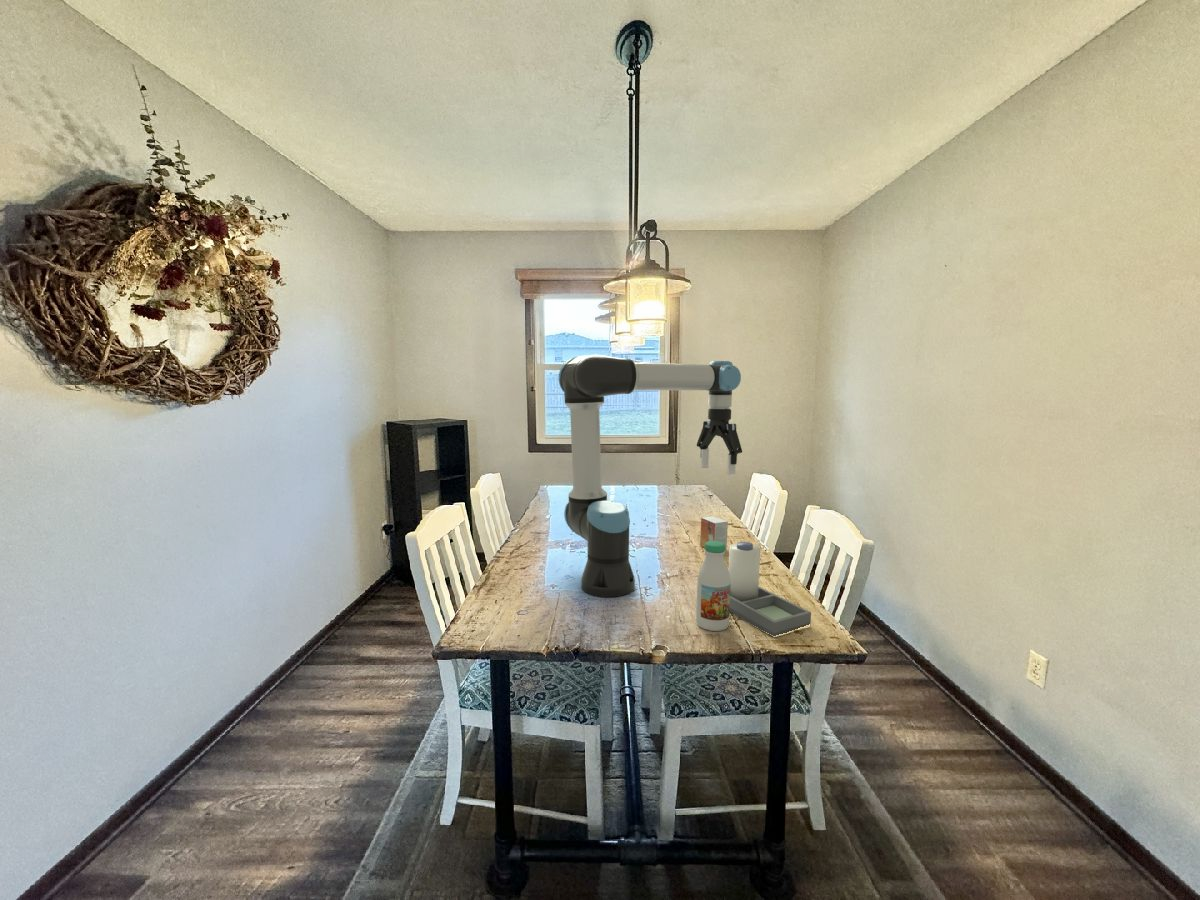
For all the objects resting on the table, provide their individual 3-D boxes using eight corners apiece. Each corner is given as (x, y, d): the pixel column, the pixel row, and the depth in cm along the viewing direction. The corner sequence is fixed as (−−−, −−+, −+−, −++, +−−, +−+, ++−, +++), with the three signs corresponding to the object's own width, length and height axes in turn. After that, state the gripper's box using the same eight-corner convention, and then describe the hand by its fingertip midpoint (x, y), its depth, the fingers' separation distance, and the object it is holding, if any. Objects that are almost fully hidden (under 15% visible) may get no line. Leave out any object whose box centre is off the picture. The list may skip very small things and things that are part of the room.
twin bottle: (741, 608, 126) (743, 550, 124) (721, 597, 132) (723, 542, 130) (764, 602, 129) (766, 546, 127) (743, 591, 136) (745, 538, 134)
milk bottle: (689, 624, 120) (691, 543, 117) (707, 613, 125) (710, 536, 123) (717, 635, 115) (720, 551, 112) (735, 624, 120) (738, 543, 117)
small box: (699, 546, 177) (700, 517, 176) (712, 544, 180) (713, 515, 178) (713, 553, 170) (714, 523, 169) (727, 551, 172) (728, 521, 171)
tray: (773, 638, 113) (774, 622, 113) (710, 600, 133) (710, 586, 133) (810, 627, 119) (811, 612, 118) (743, 592, 138) (744, 579, 138)
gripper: (755, 409, 158) (752, 476, 161) (704, 406, 180) (702, 464, 183) (737, 409, 155) (734, 477, 157) (687, 406, 177) (686, 466, 179)
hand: (717, 470), depth 170 cm, fingers open, 13 cm apart
